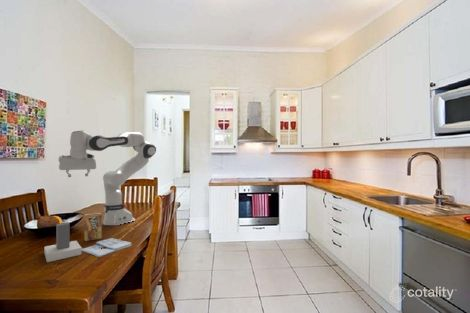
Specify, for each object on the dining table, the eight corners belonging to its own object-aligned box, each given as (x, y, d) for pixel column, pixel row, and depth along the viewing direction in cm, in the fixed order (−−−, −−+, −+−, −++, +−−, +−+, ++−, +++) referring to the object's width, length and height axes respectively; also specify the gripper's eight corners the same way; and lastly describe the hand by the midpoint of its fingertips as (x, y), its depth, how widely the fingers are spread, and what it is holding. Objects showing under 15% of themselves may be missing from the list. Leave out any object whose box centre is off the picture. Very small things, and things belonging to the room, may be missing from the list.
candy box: (101, 236, 151) (101, 212, 151) (101, 238, 147) (101, 213, 147) (84, 239, 147) (85, 214, 147) (84, 241, 143) (84, 215, 143)
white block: (76, 246, 134) (76, 240, 134) (81, 254, 124) (81, 247, 124) (44, 253, 125) (44, 246, 125) (47, 262, 115) (47, 255, 115)
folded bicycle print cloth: (132, 246, 138) (132, 242, 138) (97, 259, 120) (97, 254, 120) (112, 240, 147) (112, 236, 147) (77, 251, 130) (77, 247, 130)
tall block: (67, 244, 128) (68, 222, 128) (69, 247, 124) (69, 224, 124) (56, 246, 125) (56, 223, 125) (57, 249, 121) (57, 225, 121)
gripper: (59, 155, 148) (59, 178, 148) (96, 155, 161) (96, 176, 161) (57, 155, 152) (57, 177, 152) (94, 155, 166) (94, 175, 166)
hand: (78, 176), depth 157 cm, fingers open, 8 cm apart
